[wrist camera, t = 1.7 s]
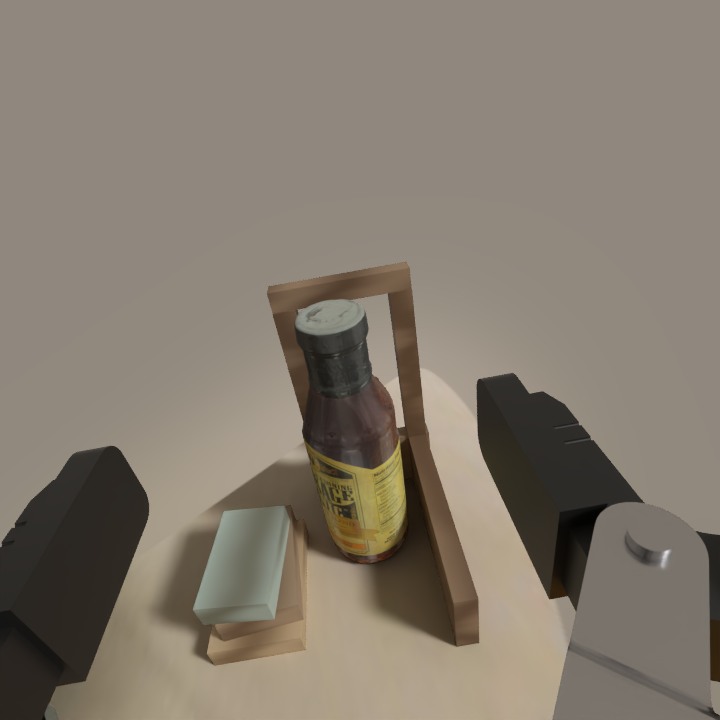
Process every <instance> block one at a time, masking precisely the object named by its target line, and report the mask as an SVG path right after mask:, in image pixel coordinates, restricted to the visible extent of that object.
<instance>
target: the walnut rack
mask: <svg viewBox="0 0 720 720" xmlns="http://www.w3.org/2000/svg"><path fill="white" fill-rule="evenodd" d="M385 293H388V299H389V306H390V314H391V321H392V330H393V337H394V345H395V352H396V360H397V368H398V376H399V383H400V391H401V399H402V407H403V414H404V422H405V427H401V428H397V429H398V433H399V440H400V450H401V459H402V468H403V477H404V479H410V478H413V479H414V481H415V485H416V489H417V493H418V497H419V501H420V504H421V508H422V512H423V516H424V520H425V524H426V528H427V532H428V536H429V540H430V544H431V548H432V551H433V555H434V559H435V563H436V567H437V571H438V575H439V579H440V583H441V587H442V591H443V594H444V598H445V602H446V606H447V610H448V614H449V618H450V622H451V626H452V630H453V634H454V638H455V641H456V645H457V647H458V646H463V645H469V644H475V643H479V613H478V596H477V593H476V590H475V587H474V584H473V581H472V578H471V575H470V571H469V568H468V565H467V562H466V559H465V556H464V553H463V550H462V547H461V543H460V540H459V537H458V534H457V531H456V528H455V525H454V522H453V519H452V515H451V512H450V509H449V506H448V503H447V500H446V497H445V494H444V491H443V487H442V484H441V481H440V478H439V475H438V472H437V469H436V466H435V463H434V459H433V456H432V453H431V450H430V442H429V432H428V429H427V426H426V423H425V419H424V408H423V398H422V388H421V378H420V368H419V357H418V348H417V337H416V327H415V317H414V306H413V296H412V289H411V280H410V269H409V266H408V264H407V262H402V263H397V264H392V265H386V266H380V267H375V268H369V269H363V270H358V271H353V272H347V273H341V274H336V275H330V276H325V277H319V278H313V279H308V280H302V281H297V282H291V283H286V284H280V285H274V286H269V287H268V291H267V295H268V299H269V302H270V306H271V309H272V313H273V318H274V321H275V325H276V328H277V331H278V335H279V338H280V342H281V345H282V349H283V352H284V356H285V359H286V363H287V366H288V370H289V373H290V377H291V380H292V384H293V387H294V390H295V394H296V397H297V401H298V404H299V408H300V411H301V415H302V418H303V422H304V416H305V410H306V403H307V396H308V390H309V380H308V370H307V366H306V362H305V358H304V353H303V350H302V349H301V348H300V346H299V345H298V343H297V339H296V333H295V326H294V322H295V319H296V317H297V316H298V310H297V309H302V308H307V307H309V306H311V305H313V304H316V303H319V302H322V301H326V300H339V299H345V300H353V299H358V298H364V297H369V296H375V295H381V294H385Z"/></svg>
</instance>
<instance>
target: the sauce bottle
mask: <svg viewBox="0 0 720 720" xmlns="http://www.w3.org/2000/svg"><path fill="white" fill-rule="evenodd" d="M294 326H295V333H296V339H297V343H298V345H299V346H300V348H301V349H302V350H303V353H304V358H305V362H306V366H307V370H308V380H309V390H308V396H307V403H306V410H305V416H304V422H303V429H302V433H303V438H304V442H305V445H306V449H307V452H308V456H309V459H310V464H311V467H312V472H313V476H314V479H315V482H316V485H317V490H318V493H319V496H320V500H321V503H322V507H323V510H324V514H325V517H326V521H327V524H328V528H329V531H330V534H331V536H332V538H333V540H334V541H335V545H336V546H337V548H338V550H339V551H341V552H342V553H343V554H344V555H345V556H347V557H349V558H350V559H351V560H355V561H357V562H359V563H362V564H365V563H366V564H370V563H373V562H377V561H382V560H385V559H387V558H389V557H391V556H392V555H393V554H394V553H395V552H396V551H397V550H398V549H399V548H400V546H401V545H402V543H403V541H404V539H405V537H406V535H407V531H408V525H407V522H408V514H407V505H406V495H405V486H404V477H403V468H402V459H401V450H400V440H399V433H398V429H397V427H396V419H395V410H394V405H393V401H392V399H391V396H390V394H389V392H388V391H387V390H386V388H385V387H384V386H383V385H382V384H381V382H380V381H379V379H378V378H377V377H374V376H373V375H372V367H371V363H370V361H369V356H368V348H367V342H366V336H367V333H368V323H367V318H366V313H365V310H364V308H363V307H362V306H361V305H359V304H358V303H355V302H354V301H351V300H345V299H339V300H326V301H322V302H319V303H316V304H313V305H311V306H309V307H307V308H305V309H304V310H302V311H301V312H300V313H299V314H298V316H297V317H296V319H295V322H294Z"/></svg>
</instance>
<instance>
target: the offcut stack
mask: <svg viewBox="0 0 720 720" xmlns="http://www.w3.org/2000/svg"><path fill="white" fill-rule="evenodd" d="M307 545H308V531H307V528H306V525H305V522H304V519H302V520H297V521H296V519H295V516H294V514H293V511H292V508H291V505H290V506H286V507H285V505H280V506H270V507H261V508H251V509H241V510H231V511H224V512H223V516H222V519H221V522H220V525H219V528H218V531H217V535H216V538H215V541H214V544H213V547H212V550H211V554H210V557H209V560H208V563H207V566H206V569H205V573H204V576H203V579H202V582H201V585H200V589H199V592H198V595H197V598H196V601H195V604H194V608H193V611H194V612H195V614H196V615H197V617H198V618H199V620H200V622H201V623H202V625H211V624H212V629H211V634H210V639H209V644H208V649H207V655H208V656H209V658H210V659H211V661H212V662H213V664H214V665H221V664H227V663H233V662H239V661H245V660H250V659H256V658H262V657H268V656H274V655H279V654H285V653H291V652H297V651H303V650H306V602H307Z"/></svg>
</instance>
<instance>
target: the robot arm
mask: <svg viewBox="0 0 720 720" xmlns="http://www.w3.org/2000/svg"><path fill="white" fill-rule="evenodd" d="M477 422H478V439H479V444H480V448H481V452H482V455H483V458H484V460H485V463H486V465H487V467H488V469H489V471H490V473H491V475H492V478H493V480H494V482H495V484H496V486H497V488H498V490H499V493H500V495H501V497H502V499H503V501H504V503H505V505H506V508H507V510H508V512H509V514H510V516H511V518H512V521H513V523H514V525H515V527H516V529H517V531H518V533H519V536H520V538H521V540H522V542H523V544H524V546H525V548H526V551H527V553H528V555H529V557H530V559H531V561H532V563H533V566H534V568H535V570H536V572H537V574H538V576H539V578H540V581H541V583H542V585H543V587H544V589H545V591H546V594H547V596H548V598H549V599H554V598H560V597H565V596H568V597H569V598H570V601H571V603H572V604H573V606H574V608H575V610H576V616H575V621H574V625H573V630H572V635H571V639H570V644H569V647H568V651H567V655H566V659H565V664H564V669H563V673H562V678H561V682H560V687H559V692H558V696H557V701H556V706H555V710H554V715H553V720H720V716H719V715H718V714H716V713H715V712H714V711H713V708H712V703H711V692H710V680H712V681H718V682H720V535H714V534H707V533H702V532H698V531H695V530H694V529H693V528H692V527H690V526H689V525H688V524H687V523H686V522H684V521H683V520H682V519H680V518H679V517H677V516H676V515H674V514H672V513H670V512H668V511H666V510H664V509H662V508H659V507H656V506H653V505H649V504H645V503H644V502H643V501H642V500H641V499H640V497H639V496H638V495H637V494H636V493H635V491H634V490H633V489H632V488H631V486H630V485H629V484H628V483H627V481H626V480H625V479H624V478H623V476H622V475H621V474H620V473H619V472H618V470H617V469H616V468H615V466H614V465H613V464H612V463H611V461H610V460H609V459H608V458H607V457H606V455H605V454H604V453H603V452H602V450H601V449H600V448H599V447H598V445H597V444H596V443H595V442H594V440H591V438H590V435H589V434H588V433H587V432H586V431H585V429H584V428H583V427H582V426H580V425H579V422H578V421H577V419H576V418H575V417H574V416H573V414H572V413H571V412H570V411H569V409H568V408H567V407H566V406H565V404H563V403H561V402H560V401H558V400H556V399H555V398H553V397H551V396H550V395H548V394H546V393H545V392H537V393H532V394H529V393H528V391H527V390H526V389H525V387H524V386H523V384H522V383H521V381H520V380H519V379H518V377H517V376H516V375H515V374H514V373H510V374H504V375H499V376H493V377H488V378H483V379H479V380H478V381H477ZM148 516H149V502H148V497H147V494H146V492H145V490H144V489H143V487H142V485H141V484H140V482H139V480H138V479H137V477H136V476H135V474H134V472H133V470H132V469H131V467H130V465H129V464H128V462H127V460H126V459H125V457H124V456H123V454H122V452H121V451H120V450H119V449H118V448H117V447H115V446H108V447H102V448H97V449H92V450H86V451H81V452H76V453H74V454H73V455H72V456H71V457H70V458H69V460H68V461H67V463H66V464H65V466H64V467H63V469H62V470H61V472H60V473H59V475H58V476H57V478H56V479H55V480H53V481H52V482H51V483H50V484H49V485H48V486H46V487H45V488H44V489H43V490H42V491H41V492H40V493H39V494H38V495H37V496H35V497H34V498H33V499H32V500H31V501H30V502H29V504H28V505H27V507H26V508H25V509H24V511H23V513H22V514H21V515H20V517H19V518H18V520H17V521H16V523H15V528H12V529H11V530H10V531H9V533H8V534H7V536H6V537H5V539H4V540H3V541H2V547H0V720H58V717H57V713H56V710H55V708H54V707H53V706H52V705H51V704H50V703H49V702H50V700H51V697H52V695H53V693H54V691H55V688H56V686H61V685H67V684H72V683H78V682H83V681H86V678H87V676H88V673H89V670H90V668H91V665H92V663H93V660H94V657H95V655H96V652H97V650H98V647H99V644H100V642H101V639H102V637H103V634H104V632H105V629H106V626H107V624H108V621H109V619H110V616H111V613H112V611H113V608H114V606H115V603H116V601H117V598H118V595H119V593H120V590H121V588H122V585H123V582H124V580H125V577H126V575H127V572H128V569H129V567H130V564H131V562H132V559H133V557H134V554H135V551H136V549H137V546H138V544H139V541H140V538H141V536H142V533H143V531H144V528H145V526H146V523H147V520H148Z"/></svg>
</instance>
